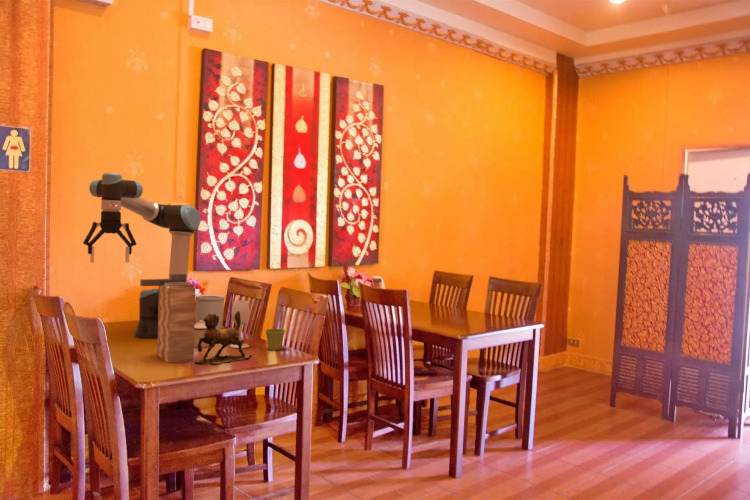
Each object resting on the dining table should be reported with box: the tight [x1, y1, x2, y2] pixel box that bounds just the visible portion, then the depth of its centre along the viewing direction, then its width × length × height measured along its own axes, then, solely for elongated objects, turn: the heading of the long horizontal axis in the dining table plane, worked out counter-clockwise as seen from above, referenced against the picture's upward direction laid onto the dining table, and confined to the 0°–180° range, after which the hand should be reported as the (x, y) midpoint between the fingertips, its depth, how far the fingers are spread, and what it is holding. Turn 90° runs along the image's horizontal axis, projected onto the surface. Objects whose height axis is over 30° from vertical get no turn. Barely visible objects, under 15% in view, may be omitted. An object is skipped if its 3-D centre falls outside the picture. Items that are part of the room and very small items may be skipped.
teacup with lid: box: [194, 321, 209, 349], centre depth 279 cm, size 12×9×12 cm
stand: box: [156, 281, 196, 364], centre depth 252 cm, size 16×10×32 cm, turn 36°
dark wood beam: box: [139, 274, 186, 287], centre depth 253 cm, size 3×18×4 cm, turn 126°
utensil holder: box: [195, 294, 225, 330], centre depth 322 cm, size 15×15×18 cm
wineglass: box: [229, 300, 251, 349], centre depth 280 cm, size 9×9×21 cm
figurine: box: [194, 311, 253, 366], centre depth 251 cm, size 13×25×20 cm, turn 128°
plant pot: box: [264, 328, 286, 351], centre depth 278 cm, size 9×9×9 cm
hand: (109, 262), depth 250 cm, fingers open, 13 cm apart
